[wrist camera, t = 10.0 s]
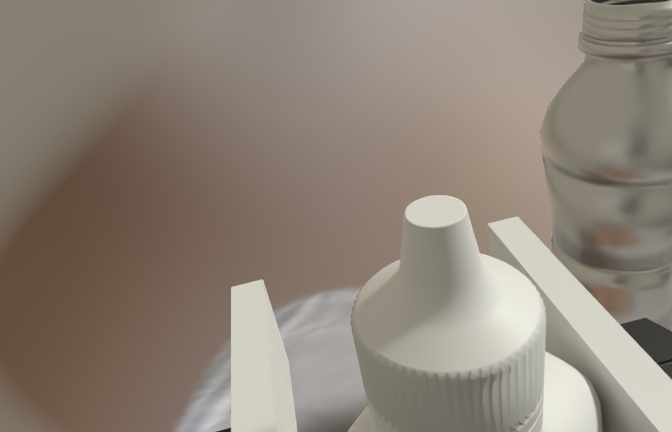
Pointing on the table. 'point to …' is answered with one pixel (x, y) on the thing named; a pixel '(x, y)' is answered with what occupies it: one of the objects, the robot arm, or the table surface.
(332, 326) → the table surface
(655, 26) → the plastic bottle
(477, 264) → the eye dropper bottle
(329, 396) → the table surface
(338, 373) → the table surface
